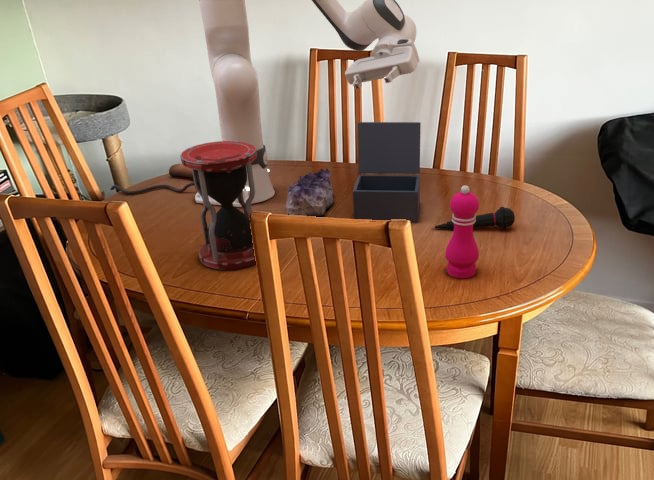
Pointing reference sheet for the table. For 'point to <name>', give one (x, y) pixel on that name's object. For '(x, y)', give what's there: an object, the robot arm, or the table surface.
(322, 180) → the geode
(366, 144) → the lid
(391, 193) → the case
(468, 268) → the pepper mill
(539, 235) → the table surface
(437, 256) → the table surface
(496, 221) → the microphone
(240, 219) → the hourglass
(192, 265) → the table surface
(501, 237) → the table surface
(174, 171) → the sunglasses case
